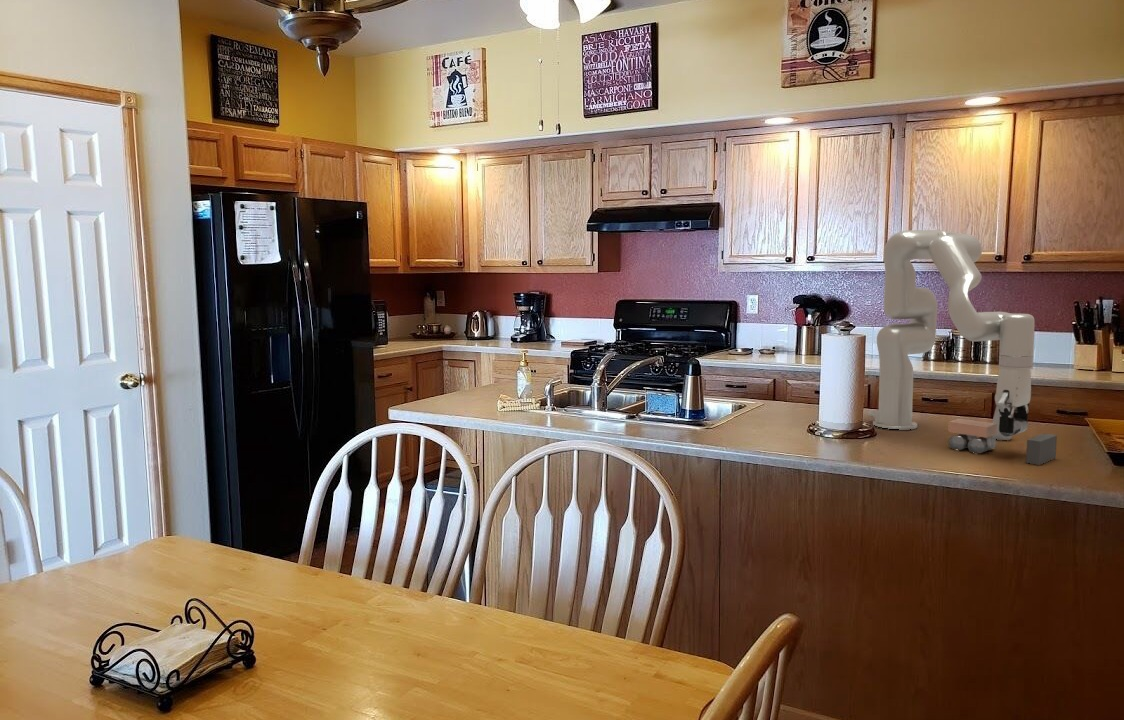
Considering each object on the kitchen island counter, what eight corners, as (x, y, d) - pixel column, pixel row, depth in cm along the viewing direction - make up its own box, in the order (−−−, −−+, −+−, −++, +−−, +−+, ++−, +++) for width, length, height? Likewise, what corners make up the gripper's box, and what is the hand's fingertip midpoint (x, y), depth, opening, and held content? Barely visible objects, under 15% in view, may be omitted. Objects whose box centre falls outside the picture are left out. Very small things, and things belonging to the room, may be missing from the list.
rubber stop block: (1026, 463, 195) (1027, 439, 194) (1042, 456, 201) (1043, 433, 200) (1039, 465, 192) (1040, 441, 191) (1055, 458, 198) (1056, 435, 198)
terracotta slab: (948, 431, 211) (948, 421, 211) (958, 428, 215) (959, 418, 215) (986, 437, 203) (987, 427, 203) (996, 434, 207) (997, 423, 207)
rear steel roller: (948, 449, 211) (949, 434, 210) (961, 444, 216) (962, 430, 215) (963, 452, 208) (964, 437, 207) (976, 447, 212) (977, 433, 212)
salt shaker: (1001, 442, 217) (1003, 396, 216) (985, 437, 223) (986, 392, 221) (1018, 440, 219) (1020, 394, 217) (1001, 436, 224) (1003, 391, 223)
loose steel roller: (998, 435, 200) (998, 420, 200) (1010, 431, 205) (1011, 416, 204) (1014, 437, 197) (1015, 422, 197) (1027, 433, 202) (1028, 418, 201)
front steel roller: (966, 452, 207) (968, 437, 206) (980, 447, 212) (981, 433, 211) (982, 455, 204) (984, 440, 203) (995, 450, 209) (997, 436, 208)
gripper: (1014, 358, 207) (1012, 423, 209) (984, 364, 197) (982, 433, 198) (1046, 360, 201) (1043, 427, 203) (1016, 366, 191) (1014, 437, 193)
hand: (1013, 429), depth 201 cm, fingers closed on loose steel roller, 7 cm apart
